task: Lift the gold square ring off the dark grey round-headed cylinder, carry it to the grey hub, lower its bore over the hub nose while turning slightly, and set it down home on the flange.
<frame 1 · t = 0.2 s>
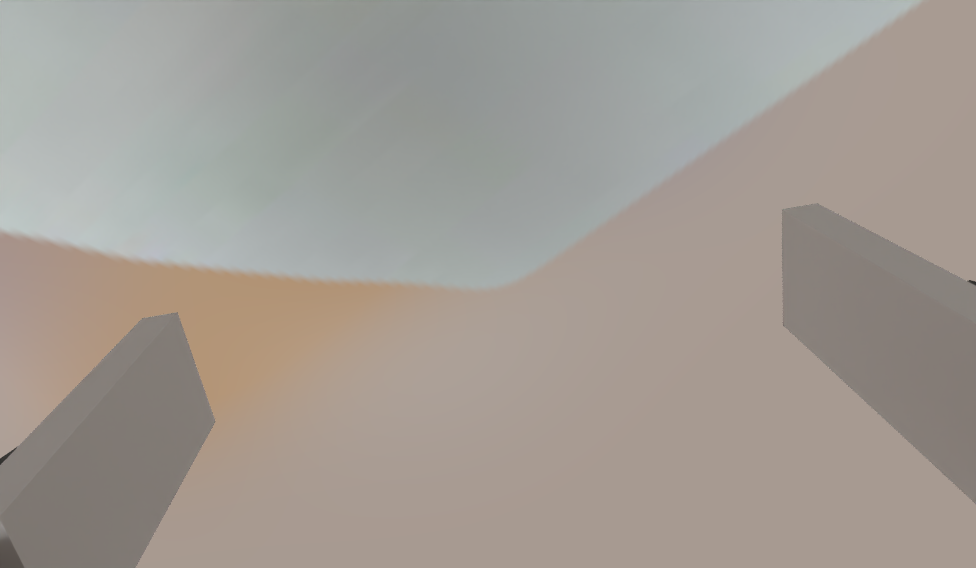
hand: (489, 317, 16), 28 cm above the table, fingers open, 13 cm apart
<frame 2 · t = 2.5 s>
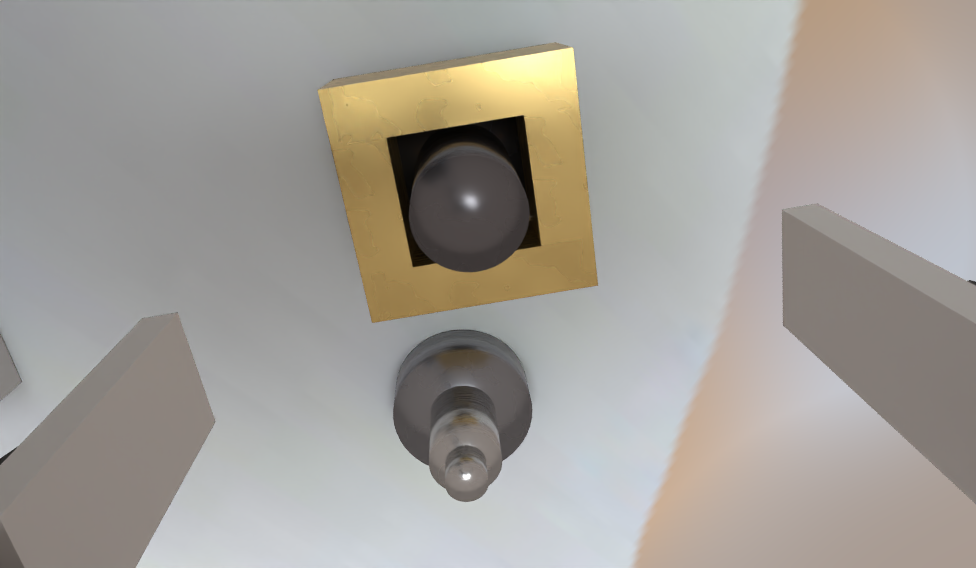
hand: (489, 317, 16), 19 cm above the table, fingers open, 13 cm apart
gold square ring: (463, 170, 30), point 3 cm above the table, touching dark grey round-headed cylinder
hub: (461, 389, 37), on the table
dark grey round-headed cylinder: (461, 156, 33), on the table
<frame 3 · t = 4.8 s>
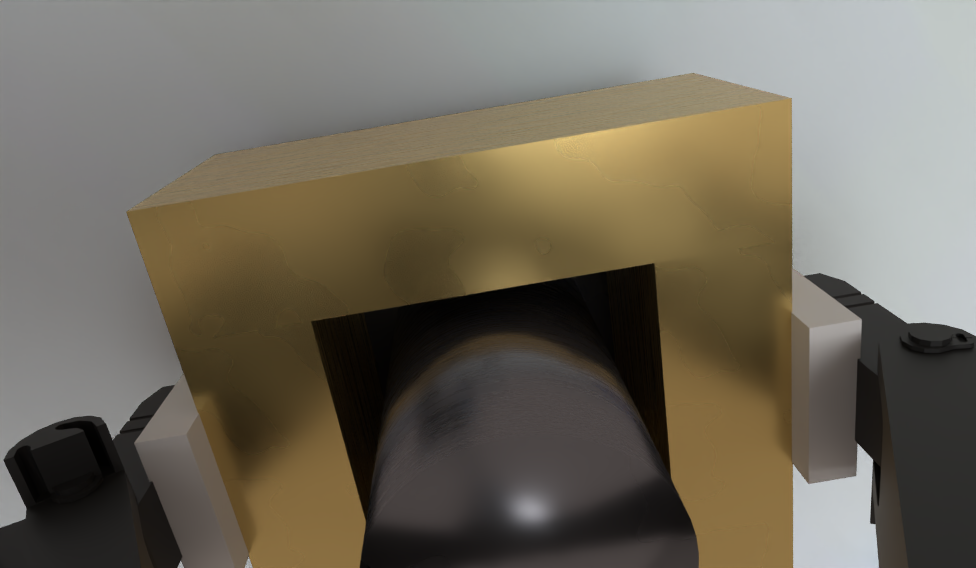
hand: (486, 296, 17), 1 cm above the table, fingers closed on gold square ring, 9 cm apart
gold square ring: (491, 331, 15), point 3 cm above the table, touching gripper, dark grey round-headed cylinder
dark grey round-headed cylinder: (484, 280, 18), on the table
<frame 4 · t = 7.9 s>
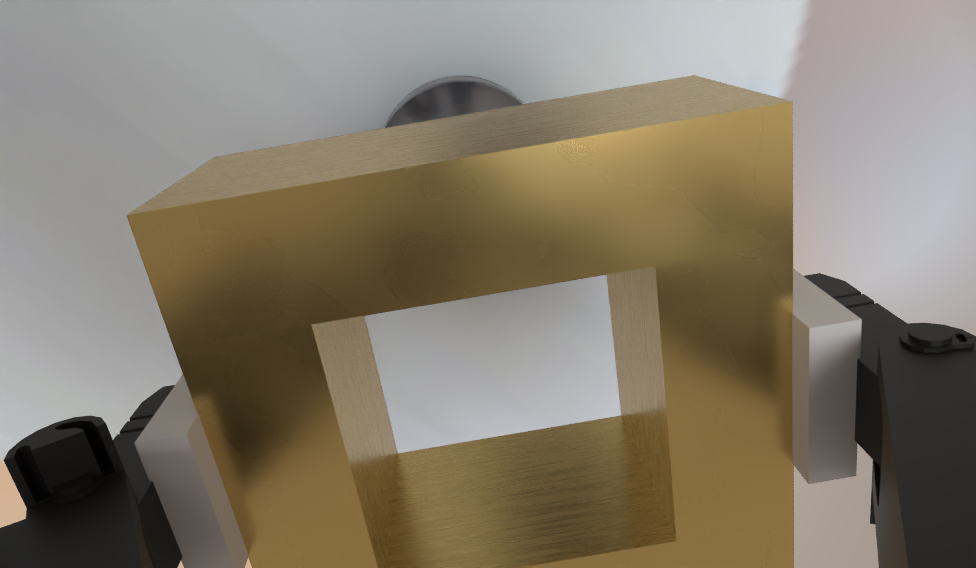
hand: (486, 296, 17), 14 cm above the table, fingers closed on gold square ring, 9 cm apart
gold square ring: (492, 333, 15), point 16 cm above the table, touching gripper
hub: (461, 160, 30), on the table
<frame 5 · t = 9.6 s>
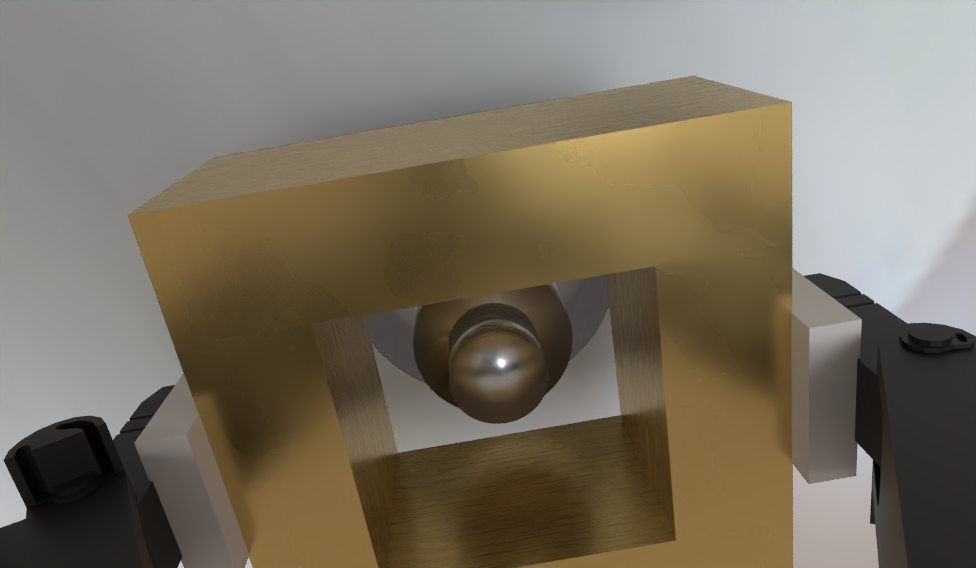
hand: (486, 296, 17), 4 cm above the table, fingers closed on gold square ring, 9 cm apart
gold square ring: (492, 333, 15), point 6 cm above the table, touching gripper
hub: (478, 244, 20), on the table
when the fingers open (2 cm above the table, at t = 11.1 s): gold square ring drops 1 cm, resting on hub.
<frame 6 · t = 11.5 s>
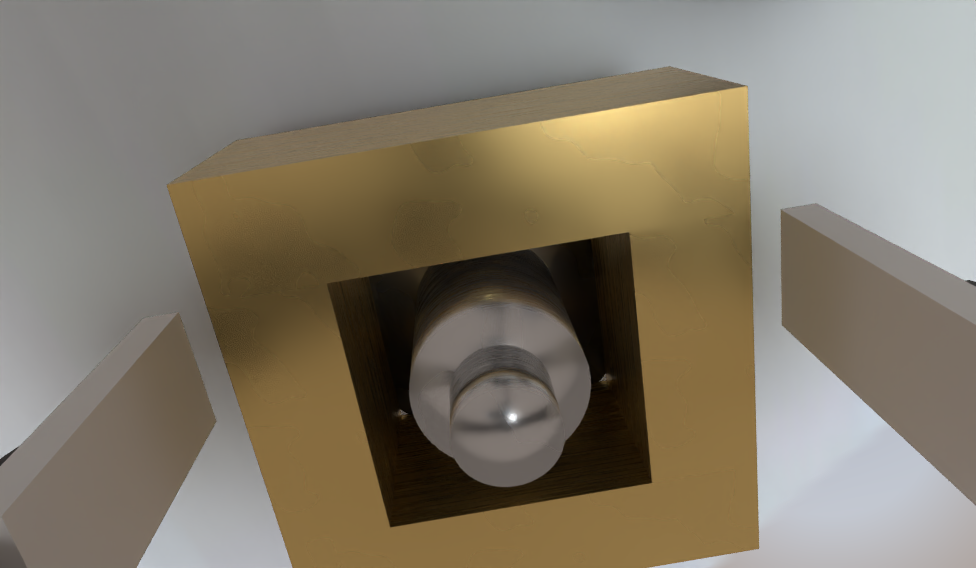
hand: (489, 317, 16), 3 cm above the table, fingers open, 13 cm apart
gold square ring: (487, 303, 16), point 2 cm above the table, touching hub
hub: (481, 266, 19), on the table
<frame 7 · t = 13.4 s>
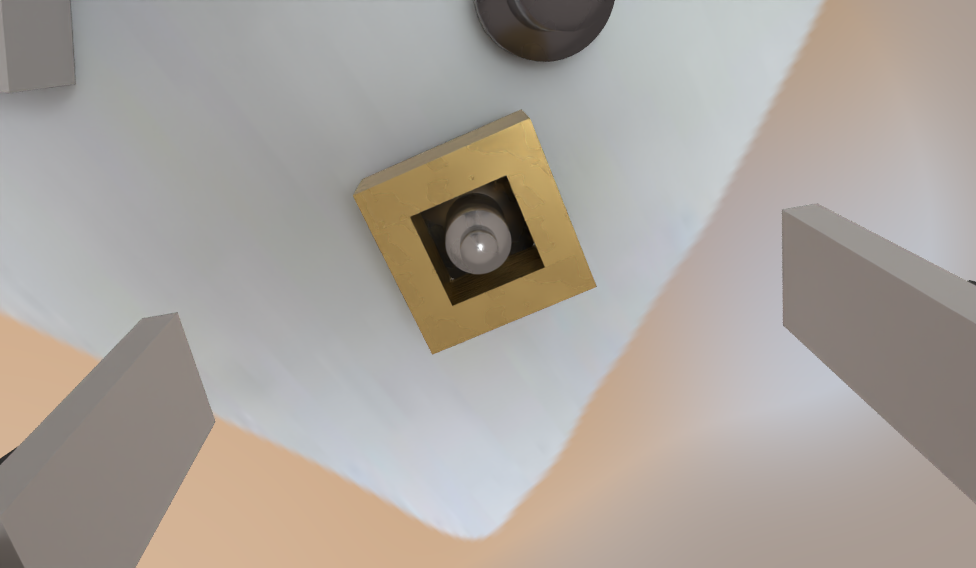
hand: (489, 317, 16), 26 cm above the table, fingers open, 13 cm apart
gold square ring: (475, 222, 39), point 2 cm above the table, touching hub
hub: (473, 211, 41), on the table
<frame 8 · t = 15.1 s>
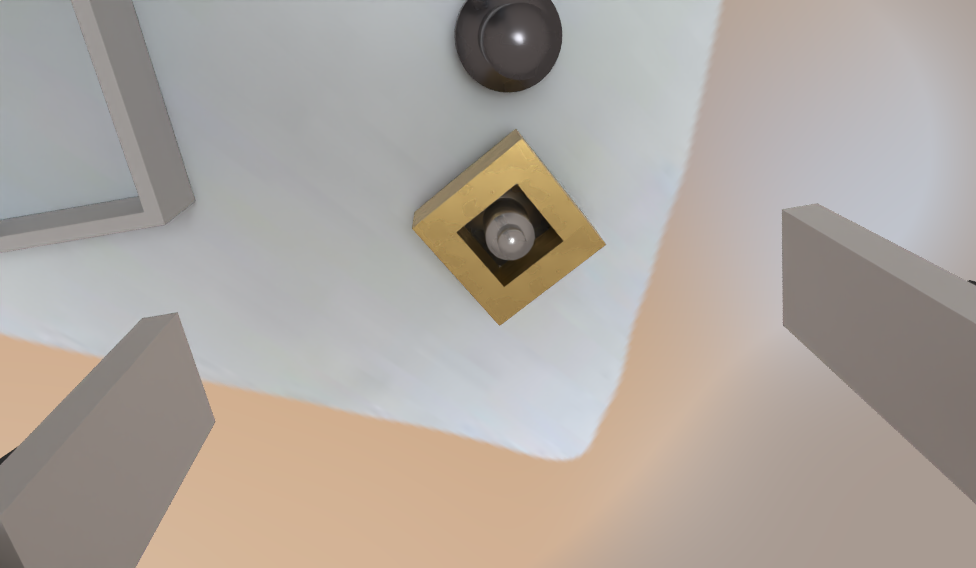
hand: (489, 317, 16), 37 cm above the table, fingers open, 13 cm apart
paper bin: (22, 35, 47), on the table
gold square ring: (505, 219, 50), point 2 cm above the table, touching hub
hub: (502, 210, 53), on the table
dark grey round-headed cylinder: (505, 35, 48), on the table
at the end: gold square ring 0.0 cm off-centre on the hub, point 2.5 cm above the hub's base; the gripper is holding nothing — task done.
